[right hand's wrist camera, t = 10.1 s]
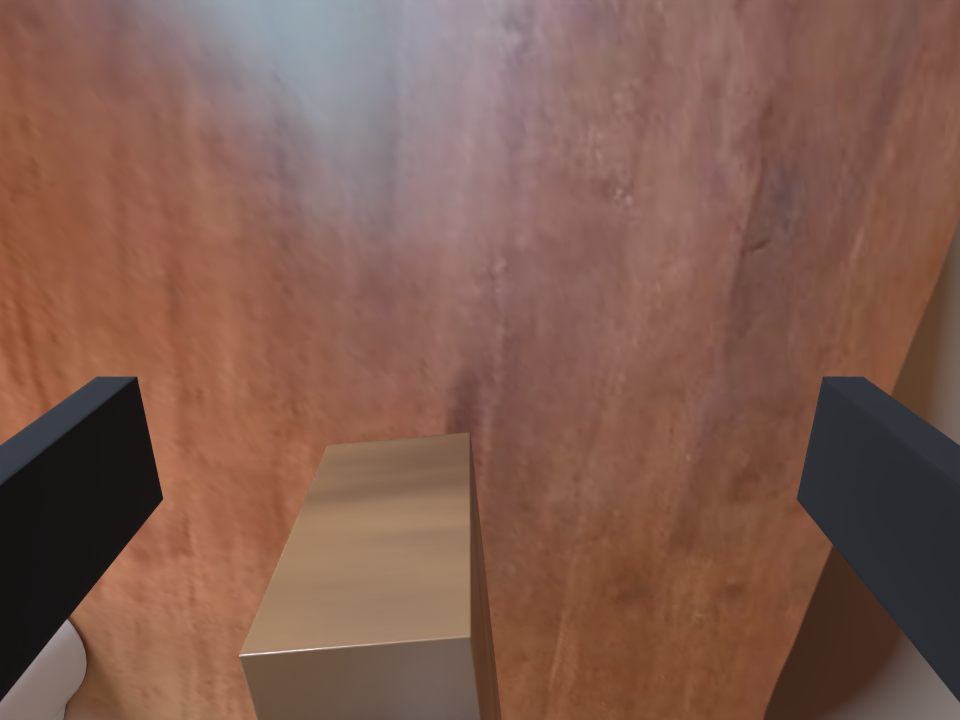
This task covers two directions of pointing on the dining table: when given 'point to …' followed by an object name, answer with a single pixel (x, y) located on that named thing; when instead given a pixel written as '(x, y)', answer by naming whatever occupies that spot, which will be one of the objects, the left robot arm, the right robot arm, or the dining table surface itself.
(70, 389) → the dining table surface
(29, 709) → the left robot arm
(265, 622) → the box
